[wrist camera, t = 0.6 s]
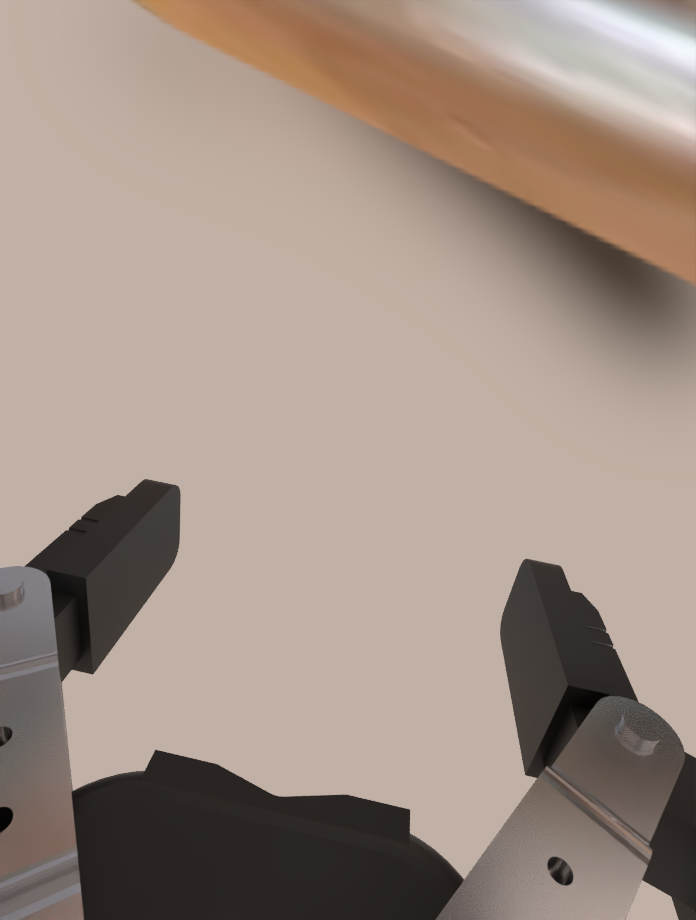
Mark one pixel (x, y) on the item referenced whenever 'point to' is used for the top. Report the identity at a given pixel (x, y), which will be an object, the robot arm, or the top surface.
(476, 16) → the top surface
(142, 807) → the robot arm
